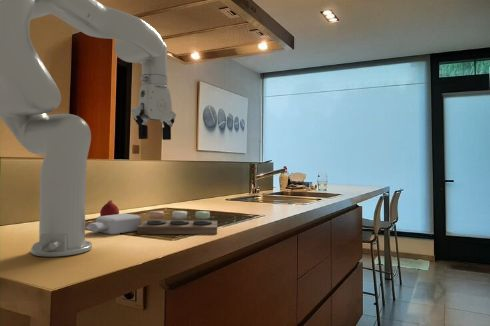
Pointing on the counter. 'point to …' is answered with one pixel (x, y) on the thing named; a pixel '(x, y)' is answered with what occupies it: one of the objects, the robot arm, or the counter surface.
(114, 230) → the white bottle
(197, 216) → the sage button
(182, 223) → the button board
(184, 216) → the grey button
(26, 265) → the counter surface
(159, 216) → the terracotta button
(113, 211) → the onion
